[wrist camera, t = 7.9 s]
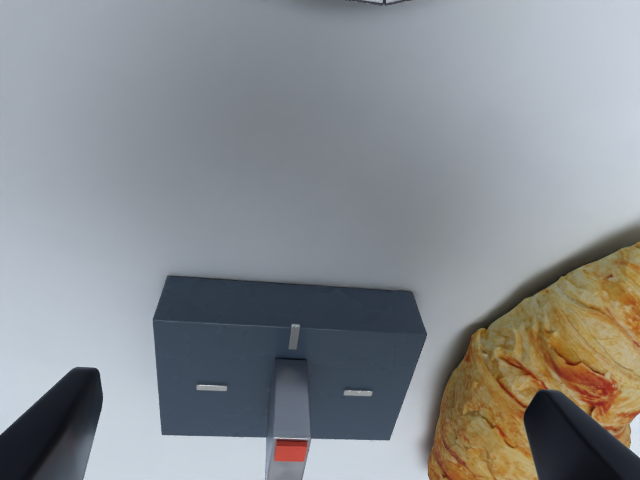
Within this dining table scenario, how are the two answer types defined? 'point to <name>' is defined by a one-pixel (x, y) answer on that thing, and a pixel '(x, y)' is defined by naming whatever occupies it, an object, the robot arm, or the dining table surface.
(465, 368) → the croissant
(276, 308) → the hob control
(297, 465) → the hob knob
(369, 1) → the egg pan
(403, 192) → the dining table surface
